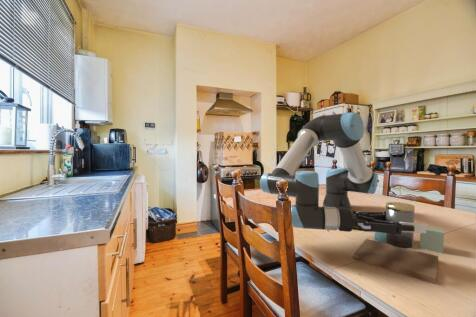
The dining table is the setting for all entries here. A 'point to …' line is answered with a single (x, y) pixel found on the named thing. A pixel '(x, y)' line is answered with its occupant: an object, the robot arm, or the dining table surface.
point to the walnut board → (398, 259)
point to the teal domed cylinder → (380, 237)
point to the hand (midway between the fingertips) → (418, 223)
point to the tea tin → (398, 214)
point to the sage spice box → (432, 239)
